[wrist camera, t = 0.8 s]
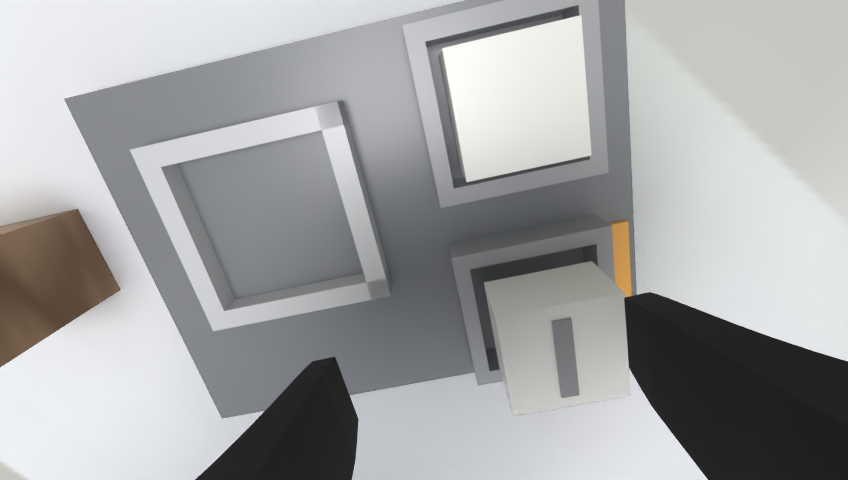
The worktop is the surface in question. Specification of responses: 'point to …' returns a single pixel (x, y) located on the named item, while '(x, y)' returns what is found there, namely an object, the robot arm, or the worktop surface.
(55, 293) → the block
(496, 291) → the button
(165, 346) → the worktop surface
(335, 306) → the breaker panel
